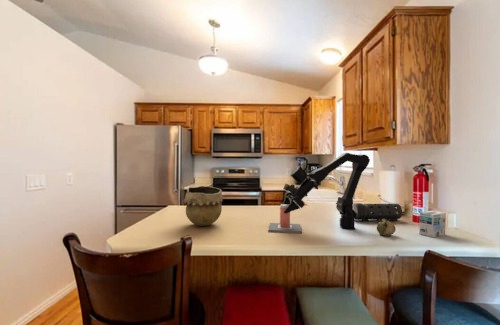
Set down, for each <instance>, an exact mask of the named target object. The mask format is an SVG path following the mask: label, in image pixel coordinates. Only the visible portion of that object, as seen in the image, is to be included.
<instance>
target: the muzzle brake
mask: <svg viewBox="0 0 500 325" xmlns="http://www.w3.org/2000/svg"><path fill="white" fill-rule="evenodd" d="M353 210H354V211H355V212H356V213H357V216H356V218H355V220H356V221H357V220H359V221H360V220H361V221H362V222H368V221H369V220H371V221H375V220H376V221H378V222H380V221H382V219H385V220H386V221H398V220H399V219H401V218H402V215H403V208H402V206H401V204H399V203H361V202H360V203H359V202H353Z"/></svg>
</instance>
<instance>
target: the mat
mask: <svg viewBox="0 0 500 325" xmlns="http://www.w3.org/2000/svg"><path fill="white" fill-rule="evenodd" d="M267 231H268V233H285V234H286V233H288V234H302V233H303V230H302V226H301V223H290V227H289V228H282V227H280V222H270V223H269V226H268V230H267Z"/></svg>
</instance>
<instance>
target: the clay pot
mask: <svg viewBox="0 0 500 325" xmlns="http://www.w3.org/2000/svg"><path fill="white" fill-rule="evenodd" d="M222 191H223V190H222V189H221V188H218V187H213V186H210V185H209V186H208V185H200V186H199V185H198V186H194V187H191V186H189V187H187V190H186V193H185V195H184V199H183V201H182V203H183V204H184V205H186V206H185V215H186V217H187V219H188V220H189V221H190V222H191V223H192V224H194V225H196V226H201V227H203V226H210V225H212V224H214V223H215V222H216V221H217V220H218V219H219V218H220V216H221V215H222V211H223V210H222V209H223V208H222V206H223V205H222V203H223V201H224V198H223V192H222Z"/></svg>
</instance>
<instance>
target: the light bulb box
mask: <svg viewBox="0 0 500 325" xmlns="http://www.w3.org/2000/svg"><path fill="white" fill-rule="evenodd" d="M446 215H447V213H446V212H443V211H442V212H441V211H438V210H437V211H435V210H427V211H419V225H418V226H419V227H418V229H419V233H418V234H419V235H423V236H427V237H430V238H436V237H443V236H446V225H447V224H446V223H447V222H446V220H447V218H446V217H447V216H446Z"/></svg>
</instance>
